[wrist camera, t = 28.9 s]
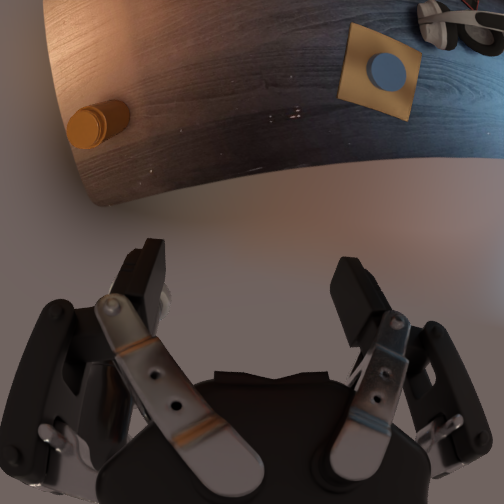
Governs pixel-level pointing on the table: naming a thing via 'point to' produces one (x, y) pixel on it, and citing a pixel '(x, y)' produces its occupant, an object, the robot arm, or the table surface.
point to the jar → (97, 123)
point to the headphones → (461, 28)
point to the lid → (386, 72)
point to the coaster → (357, 82)
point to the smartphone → (472, 4)
